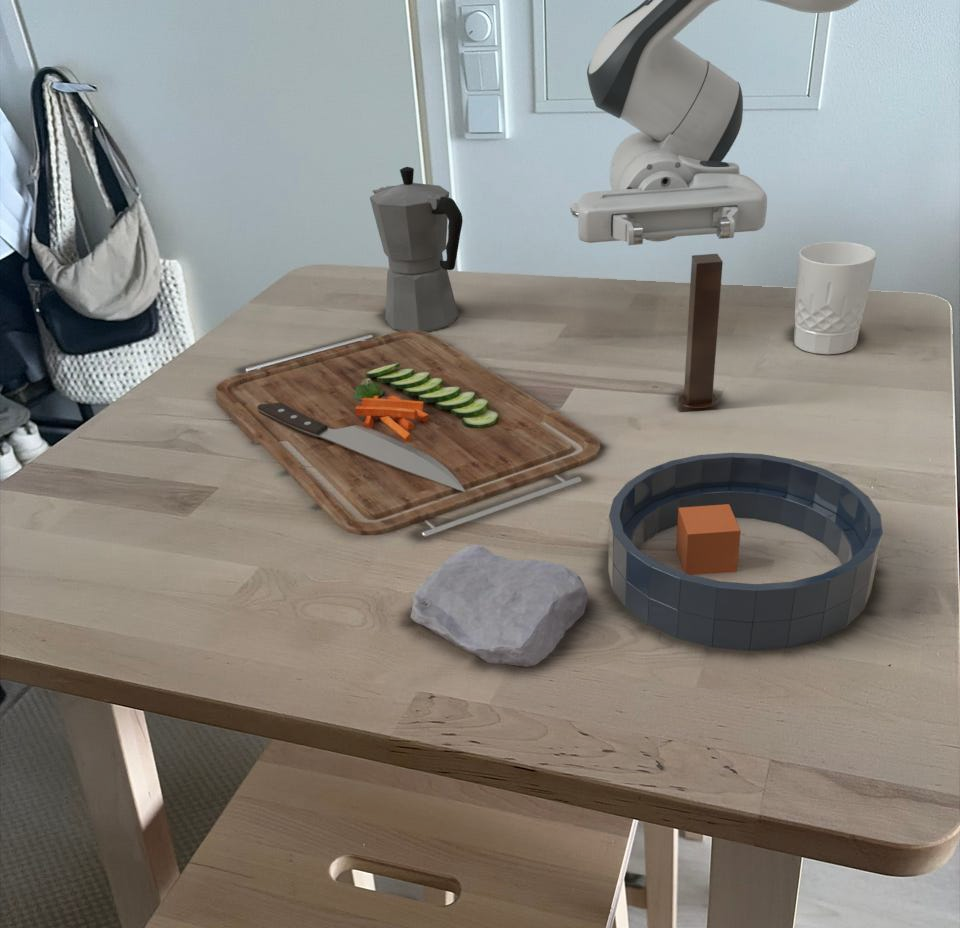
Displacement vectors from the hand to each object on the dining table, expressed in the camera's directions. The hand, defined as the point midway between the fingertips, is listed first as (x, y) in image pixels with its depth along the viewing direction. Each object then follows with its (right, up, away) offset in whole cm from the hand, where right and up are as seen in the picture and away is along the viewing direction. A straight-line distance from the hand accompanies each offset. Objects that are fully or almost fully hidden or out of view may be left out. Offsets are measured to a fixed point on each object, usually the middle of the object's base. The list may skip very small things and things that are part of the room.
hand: (681, 233), depth 106 cm
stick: (+1, -18, -1) cm, 18 cm away
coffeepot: (-27, -2, +23) cm, 36 cm away
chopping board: (-30, -20, 0) cm, 36 cm away
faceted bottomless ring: (-1, -37, -26) cm, 45 cm away
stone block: (-20, -41, -29) cm, 54 cm away
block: (-3, -36, -25) cm, 44 cm away
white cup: (+18, -9, +10) cm, 22 cm away
